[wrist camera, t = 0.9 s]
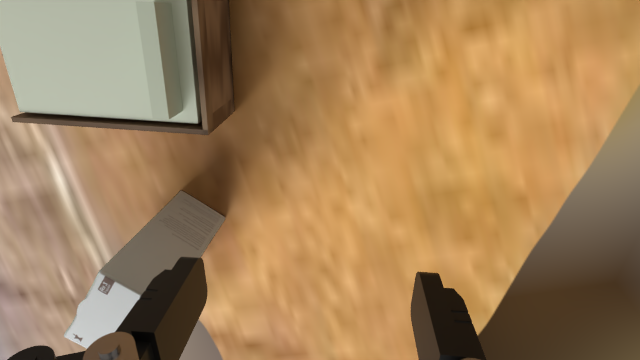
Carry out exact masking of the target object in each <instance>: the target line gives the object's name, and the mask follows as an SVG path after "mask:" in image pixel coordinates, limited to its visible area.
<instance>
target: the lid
mask: <svg viewBox="0 0 640 360" xmlns="http://www.w3.org/2000/svg"><path fill="white" fill-rule="evenodd" d="M0 47H1V50H2V54H3V57H4V60H5V64H6V67H7V70H8V74H9V77H10V80H11V84H12V87H13V90H14V94H15V97H16V100H17V104H18V107H19V111H20V112H30V113H45V114H60V115H75V116H90V117H105V118H121V119H136V120H151V121H166V122H181V123H197V124H198V123H200V122H201V121H202V114H201V103H200V92H199V81H198V70H197V59H196V47H195V36H194V25H193V14H192V3H191V0H0Z"/></svg>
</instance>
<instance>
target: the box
mask: <svg viewBox="0 0 640 360" xmlns="http://www.w3.org/2000/svg"><path fill="white" fill-rule="evenodd" d="M191 3H192V14H193V25H194V36H195V47H196V59H197V70H198V81H199V92H200V103H201V114H202V121H201V122H200V123H198V124H197V123H181V122H166V121H151V120H136V119H121V118H105V117H90V116H75V115H60V114H45V113H30V112H25V113H22V114H19V115H16V116H13V117H11V118H12V121H13V122H22V123H37V124H52V125H66V126H81V127H96V128H111V129H126V130H141V131H156V132H171V133H186V134H201V135H209V134H210V133H211V132H212V131H213V130H214V129H216V128H217V127H218V126H219V125H220V124H221V123H222V122H223V121H224V120H226V119H227V118H228V117H229V116H230V115H231V114H232V113H233V112H234V93H233V73H232V54H231V34H230V15H229V0H191Z"/></svg>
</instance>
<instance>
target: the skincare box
mask: <svg viewBox="0 0 640 360" xmlns="http://www.w3.org/2000/svg"><path fill="white" fill-rule="evenodd" d="M224 220H225V217H224V216H223V215H221V214H219V213H218V212H216V211H215V210H213V209H211V208H210V207H208V206H206V205H205V204H203V203H202V202H200V201H198V200H197V199H195V198H194V197H192V196H190V195H189V194H187V193H185V192H184V191H180V192H179V193H178V194H177V195H176V196H175V197H174V198H173V199H172V200H171V201H170V202H169V203H168V204H167V205H166V206H165V207H164V208H163V209H162V210H161V211H160V212H159V213H158V214H157V215H156V216H155V217H154V218H153V219H151V220H150V221H149V222H148V223H147V224H146V225H145V226H144V227H143V228H142V229H141V230H140V231H139V232H138V233H137V234H136V235H135V236H134V237H133V238H132V239H131V240H130V241H129V242H128V243H127V244H126V245H125V246H124V247H123V248H122V249H121V250H120V251H119V252H118V253H117V254H116V255H115V256H114V257H113V258H112V259H111V260H110V261H109V262H108V263H107V264H106V265H105V266H104V267H103V268H102V269H101V270H100V271H99V272H98V274H97V276H96V278H95V280H94V282H93V284H92V286H91V288H90V290H89V292H88V294H87V296H86V298H85V299H84V300H83V301H82V302H81V303H80V304H79V306H78V308H77V314H76V316H75V318H74V320H73V322H72V323H71V325H70V326H69V328H68V329H67V330H66V332H65V334H64V337H66V338H68V339H70V340H71V341H73V342H75V343H77V344H79V345H81V346H83V347H85V348H88V347H89V346H90V345H91V344H92V343H93V342H94V341H96V340H97V339H99V338H100V337H102V336H104V335H107V334H110V333H113V332H115V331H116V330H117V328H118V327H119V326H120V324H121V323H122V321H123V320H124V319H125V317H126V316H127V314H128V313H129V312H130V310H131V309H132V307H133V306H134V305H135V303H136V302H137V300H139V299H140V296H141V295H142V293H143V292H144V291H146V288H147V286H148V285H149V284H150V282H151V281H152V279H153V278H154V277H156V276H157V275H158V274H160V273H161V272H162V271H164V270H165V269H167V270H172V268H173V267H174V265H175V264H176V262H177V261H178V259H179V258H180V257H196V258H200V257H201V256H202V254H203V253H204V251H205V250H206V248H207V246H208V245H209V243H210V242H211V240H212V239H213V237H214V236H215V234H216V233H217V231H218V230H219V228H220V226H221V225H222V223H223V222H224Z"/></svg>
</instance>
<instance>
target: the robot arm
mask: <svg viewBox="0 0 640 360" xmlns="http://www.w3.org/2000/svg"><path fill="white" fill-rule="evenodd" d="M206 299H207V284H206V277H205V270H204V263H203V260H202V258H196V257H180V258H179V259H178V261H177V262H176V264H175V265H174V267H173V268H172V270H167V269H165V270H164V271H162V272H161V273H160V274H158V275H157V276H156V277H154V278H153V279H152V281H151V282H150V284H149V285H148V286H147V288H146V291H144V292H143V293H142V295H141V296H140V299H139V300H137V302H136V303H135V305H134V306H133V307H132V309H131V310H130V312H129V313H128V314H127V316H126V317H125V319H124V320H123V321H122V323H121V324H120V326H119V327H118V328H117V330H116V331H115V332H113V333H110V334H107V335H104V336H102V337H100V338H99V339H97V340H96V341H94V342H93V343H92V344H91V345H90V346H89V347H88V348H87V350H86V351H83V352H78V353H73V354H68V355H63V356H57V357H56V356H55V353H54V351H53V350H52V348H50V347H48V346H34V347H30V348H27V349H24V350H22V351H20V352H18V353H16V354H15V355H13V356H12V357H10V358H9V359H8V360H179V358H180V356H181V354H182V352H183V350H184V348H185V346H186V344H187V342H188V340H189V337H190V335H191V333H192V331H193V329H194V327H195V325H196V323H197V321H198V319H199V317H200V315H201V312H202V310H203V308H204V306H205V303H206ZM411 321H412V326H413V331H414V337H415V342H416V347H417V352H418V357H419V360H486V357H485V355H484V352H483V350H482V347H481V344H480V342H479V339H478V336H477V334H476V331H475V329H474V326H473V324H472V321H471V318H470V316H469V314H468V310H467V308H466V305H465V302H464V300H463V298H462V297H461V296H460V295H459V294H458V293H457V292H456V291H455V290H454V289H452V288H443V284H442V281H441V278H440V276H439V274H438V273H428V272H417V273H416V278H415V284H414V290H413V296H412V302H411Z"/></svg>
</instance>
